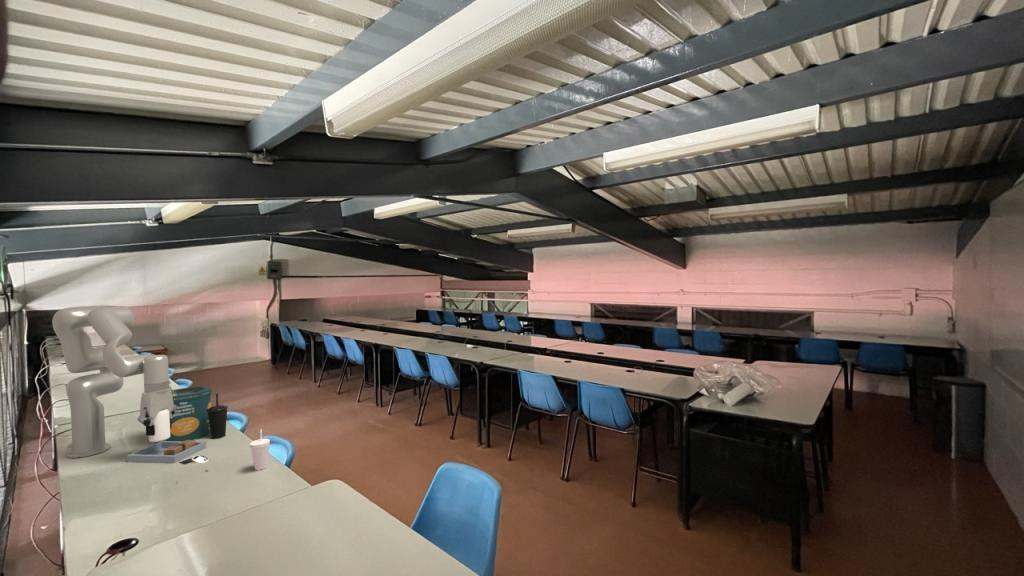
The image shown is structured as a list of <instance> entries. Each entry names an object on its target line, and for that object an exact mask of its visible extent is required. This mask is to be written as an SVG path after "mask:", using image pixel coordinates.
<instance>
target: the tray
mask: <svg viewBox="0 0 1024 576" xmlns="http://www.w3.org/2000/svg"><path fill="white" fill-rule="evenodd" d="M181 442H182V441H166V440H164V441H160V442H155V443H154V444H151V445H149V446H147V447H144V448H142V449H138V450H137V451H134V452H131V453H130V454H126V462H127V463H148V464H149V463H151V464H152V463H153V464H156V463H157V464H158V463H159V464H176V463H179V462H181V461H183V460H185V459H186V458H188V457H191V456H192V455H195V454H197V453H199V452H201V451H203V450H206V449H207V444H206V443H207V442H206V441H196V446H193V447H191V448H189V449H187V450H185V451H183V452H180V453H178V454H176V455H164V450H165V449H167V448H169V447H171V446H178V443H181Z"/></svg>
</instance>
